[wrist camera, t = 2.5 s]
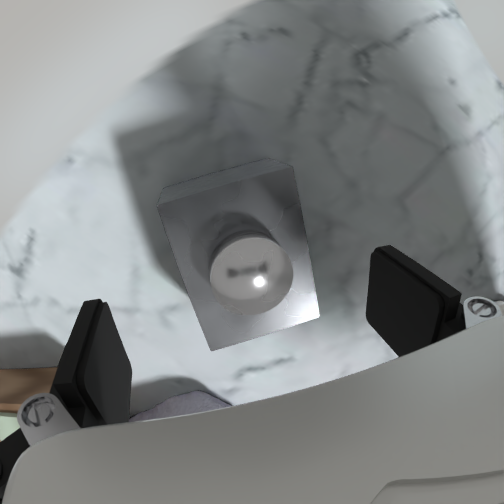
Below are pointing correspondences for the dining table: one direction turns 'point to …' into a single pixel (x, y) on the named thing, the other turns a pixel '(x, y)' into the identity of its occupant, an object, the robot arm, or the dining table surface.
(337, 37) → the dining table surface
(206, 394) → the stone block
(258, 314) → the housing
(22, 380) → the stand
